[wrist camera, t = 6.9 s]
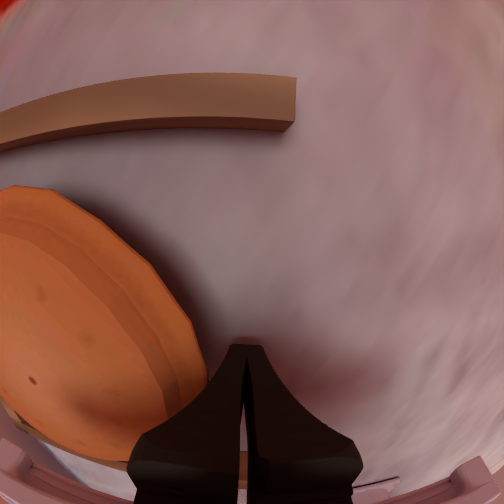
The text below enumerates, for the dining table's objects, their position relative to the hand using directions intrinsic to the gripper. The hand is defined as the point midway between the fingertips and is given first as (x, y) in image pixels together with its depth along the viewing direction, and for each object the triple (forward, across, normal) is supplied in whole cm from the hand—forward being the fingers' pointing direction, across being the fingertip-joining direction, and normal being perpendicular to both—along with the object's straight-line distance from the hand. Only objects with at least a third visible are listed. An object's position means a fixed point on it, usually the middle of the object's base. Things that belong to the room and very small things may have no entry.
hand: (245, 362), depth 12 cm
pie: (+2, +9, 0) cm, 9 cm away
